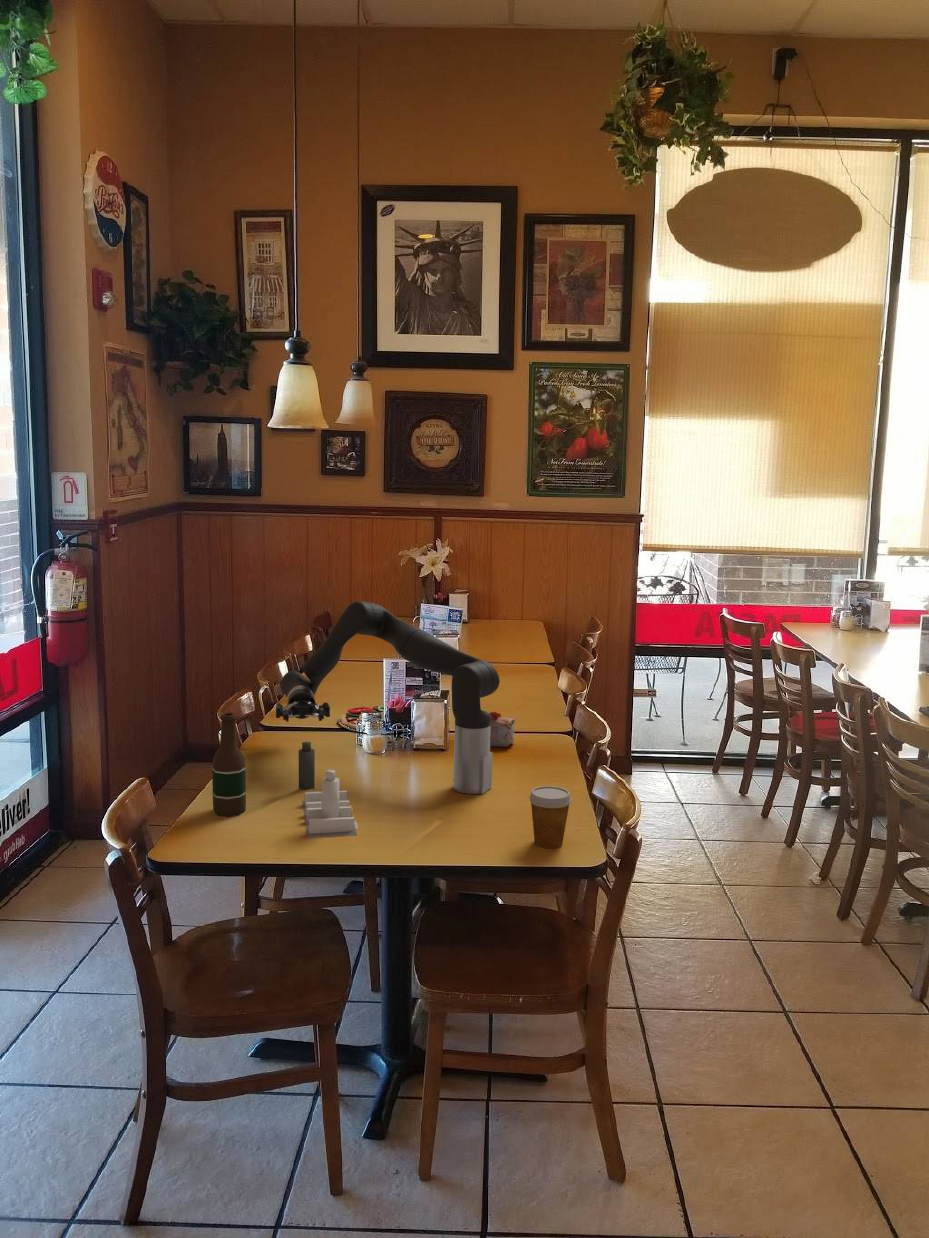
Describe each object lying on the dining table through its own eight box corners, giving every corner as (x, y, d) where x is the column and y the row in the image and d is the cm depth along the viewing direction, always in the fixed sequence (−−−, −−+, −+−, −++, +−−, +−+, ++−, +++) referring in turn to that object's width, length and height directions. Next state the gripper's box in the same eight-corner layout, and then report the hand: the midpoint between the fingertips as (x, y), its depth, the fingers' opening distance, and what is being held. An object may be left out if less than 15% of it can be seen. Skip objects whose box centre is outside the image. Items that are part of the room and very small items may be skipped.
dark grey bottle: (317, 791, 260) (317, 741, 258) (309, 795, 256) (309, 746, 254) (304, 788, 262) (304, 739, 259) (295, 793, 258) (295, 743, 256)
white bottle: (342, 824, 234) (342, 769, 232) (333, 830, 230) (333, 775, 228) (327, 821, 235) (327, 767, 233) (318, 827, 232) (318, 772, 229)
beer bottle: (232, 803, 250) (231, 708, 246) (252, 811, 245) (251, 714, 241) (206, 811, 244) (204, 714, 240) (226, 819, 239) (225, 720, 235)
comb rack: (302, 806, 249) (302, 788, 248) (350, 804, 251) (350, 786, 250) (307, 844, 226) (307, 824, 225) (359, 841, 228) (360, 822, 227)
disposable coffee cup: (566, 835, 235) (568, 785, 233) (572, 851, 225) (574, 799, 223) (525, 834, 234) (527, 784, 232) (529, 851, 225) (531, 799, 223)
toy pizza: (325, 717, 331) (325, 704, 330) (403, 709, 344) (404, 696, 343) (357, 740, 307) (357, 726, 306) (439, 730, 319) (440, 717, 319)
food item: (517, 743, 307) (519, 711, 305) (510, 750, 299) (511, 717, 298) (474, 738, 311) (475, 706, 309) (466, 745, 304) (467, 713, 302)
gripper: (275, 688, 280) (276, 704, 264) (327, 688, 282) (331, 703, 267) (274, 715, 281) (276, 732, 265) (326, 714, 284) (331, 730, 268)
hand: (304, 717), depth 266 cm, fingers open, 8 cm apart
